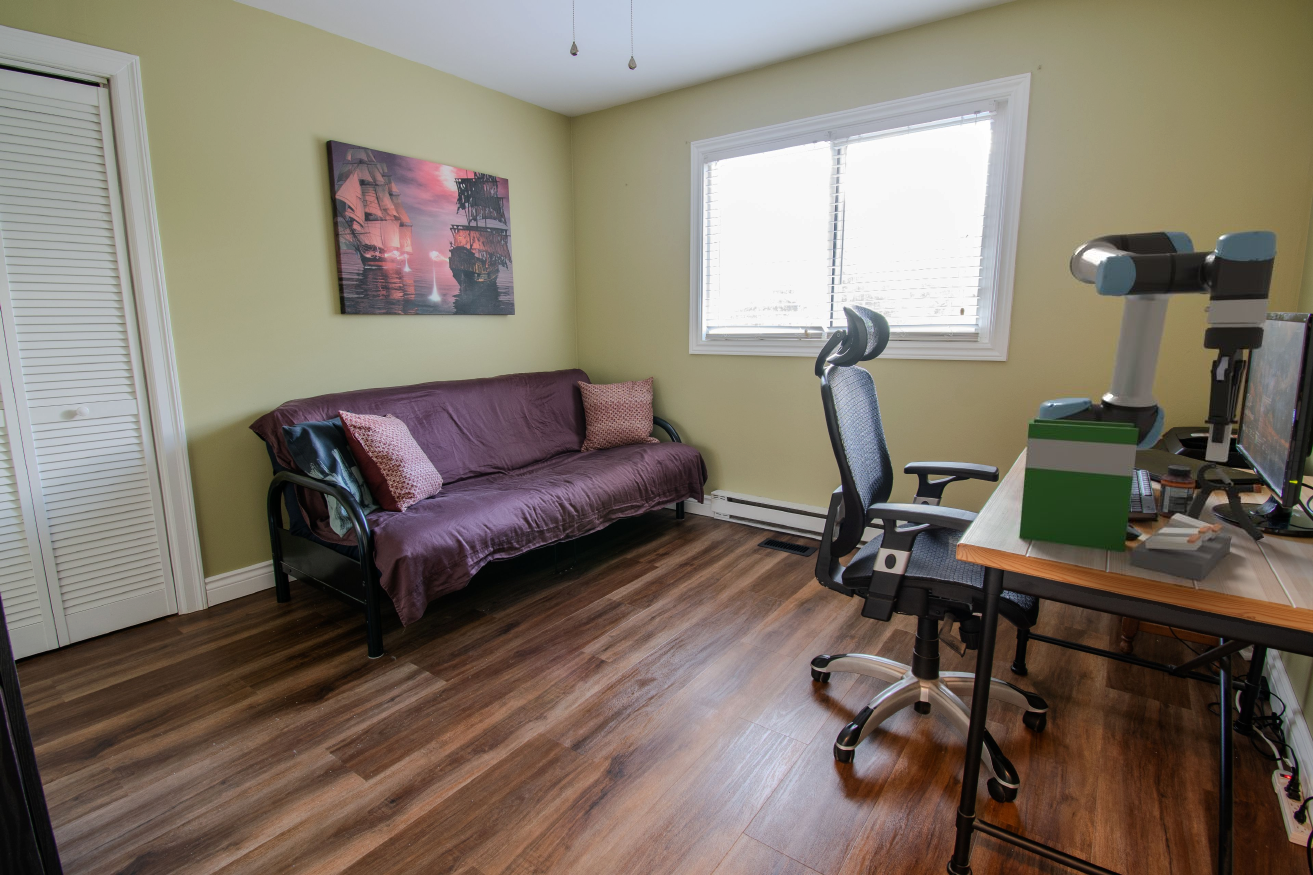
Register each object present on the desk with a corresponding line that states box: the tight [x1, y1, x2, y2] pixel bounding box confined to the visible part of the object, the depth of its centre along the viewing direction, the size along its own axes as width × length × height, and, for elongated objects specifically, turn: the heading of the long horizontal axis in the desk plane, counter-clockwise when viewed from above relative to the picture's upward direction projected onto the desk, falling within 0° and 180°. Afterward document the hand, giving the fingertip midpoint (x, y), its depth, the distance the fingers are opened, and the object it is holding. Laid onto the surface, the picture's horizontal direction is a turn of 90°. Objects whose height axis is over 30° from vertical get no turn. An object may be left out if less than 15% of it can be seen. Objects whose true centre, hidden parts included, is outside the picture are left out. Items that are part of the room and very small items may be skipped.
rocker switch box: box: [1130, 524, 1233, 582], centre depth 121 cm, size 27×10×3 cm, turn 129°
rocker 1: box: [1145, 535, 1202, 550], centre depth 114 cm, size 4×7×2 cm, turn 39°
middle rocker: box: [1156, 526, 1212, 540], centre depth 118 cm, size 4×7×2 cm, turn 39°
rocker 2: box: [1168, 513, 1223, 539], centre depth 123 cm, size 4×7×2 cm, turn 39°
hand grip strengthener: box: [1186, 462, 1265, 542], centre depth 129 cm, size 2×12×15 cm, turn 51°
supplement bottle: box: [1157, 464, 1196, 519], centre depth 144 cm, size 6×6×11 cm
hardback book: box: [1018, 417, 1139, 553], centre depth 128 cm, size 18×7×24 cm, turn 60°
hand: (1216, 460), depth 114 cm, fingers closed
